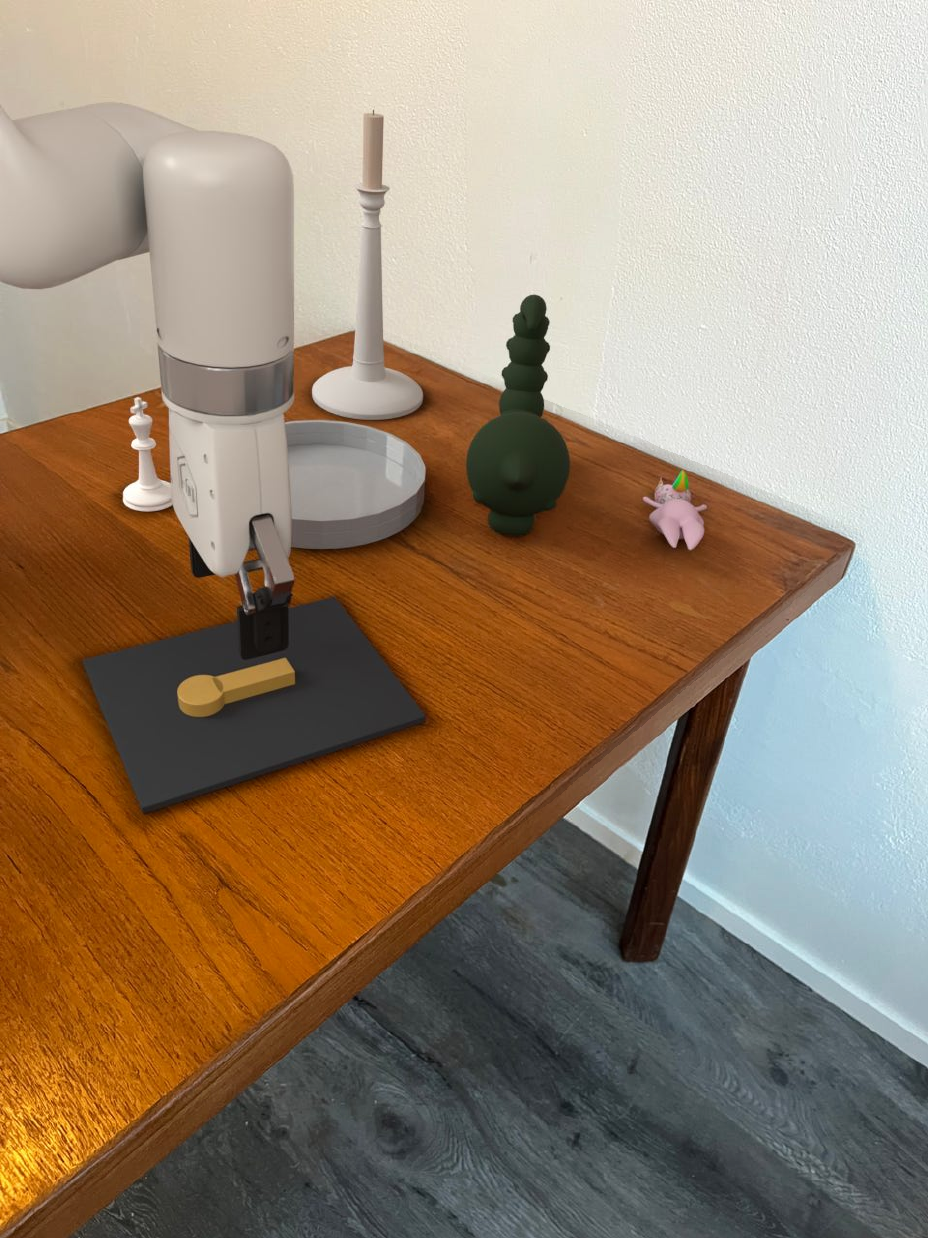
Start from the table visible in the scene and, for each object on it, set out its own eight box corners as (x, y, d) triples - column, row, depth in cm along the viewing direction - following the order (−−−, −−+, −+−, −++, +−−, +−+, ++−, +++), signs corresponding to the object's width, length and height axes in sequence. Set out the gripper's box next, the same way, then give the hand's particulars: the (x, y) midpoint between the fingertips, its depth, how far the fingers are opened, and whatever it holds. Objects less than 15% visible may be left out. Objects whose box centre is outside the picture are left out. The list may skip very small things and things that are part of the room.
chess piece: (188, 494, 92) (178, 395, 86) (154, 517, 89) (141, 415, 83) (146, 480, 94) (134, 382, 88) (111, 502, 90) (95, 401, 84)
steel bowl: (258, 569, 83) (256, 539, 81) (187, 465, 97) (184, 438, 95) (461, 522, 92) (463, 494, 90) (369, 433, 106) (370, 408, 104)
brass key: (186, 722, 67) (185, 709, 66) (172, 694, 69) (171, 681, 68) (299, 690, 70) (298, 677, 70) (282, 664, 72) (282, 651, 72)
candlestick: (437, 386, 117) (455, 109, 99) (399, 428, 107) (412, 128, 89) (339, 366, 120) (339, 92, 102) (293, 405, 110) (285, 109, 92)
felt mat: (143, 814, 61) (141, 808, 60) (83, 665, 71) (82, 659, 71) (426, 722, 69) (426, 715, 69) (334, 602, 80) (334, 596, 80)
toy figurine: (471, 456, 107) (454, 562, 85) (488, 277, 97) (473, 347, 75) (557, 465, 106) (561, 574, 85) (582, 287, 97) (594, 359, 75)
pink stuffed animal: (636, 504, 100) (643, 560, 87) (647, 448, 98) (656, 498, 84) (697, 512, 100) (713, 570, 87) (709, 456, 97) (728, 507, 84)
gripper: (122, 324, 60) (147, 555, 70) (212, 450, 49) (226, 704, 59) (239, 313, 63) (247, 535, 74) (350, 429, 52) (341, 673, 62)
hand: (238, 610), depth 66 cm, fingers open, 9 cm apart
